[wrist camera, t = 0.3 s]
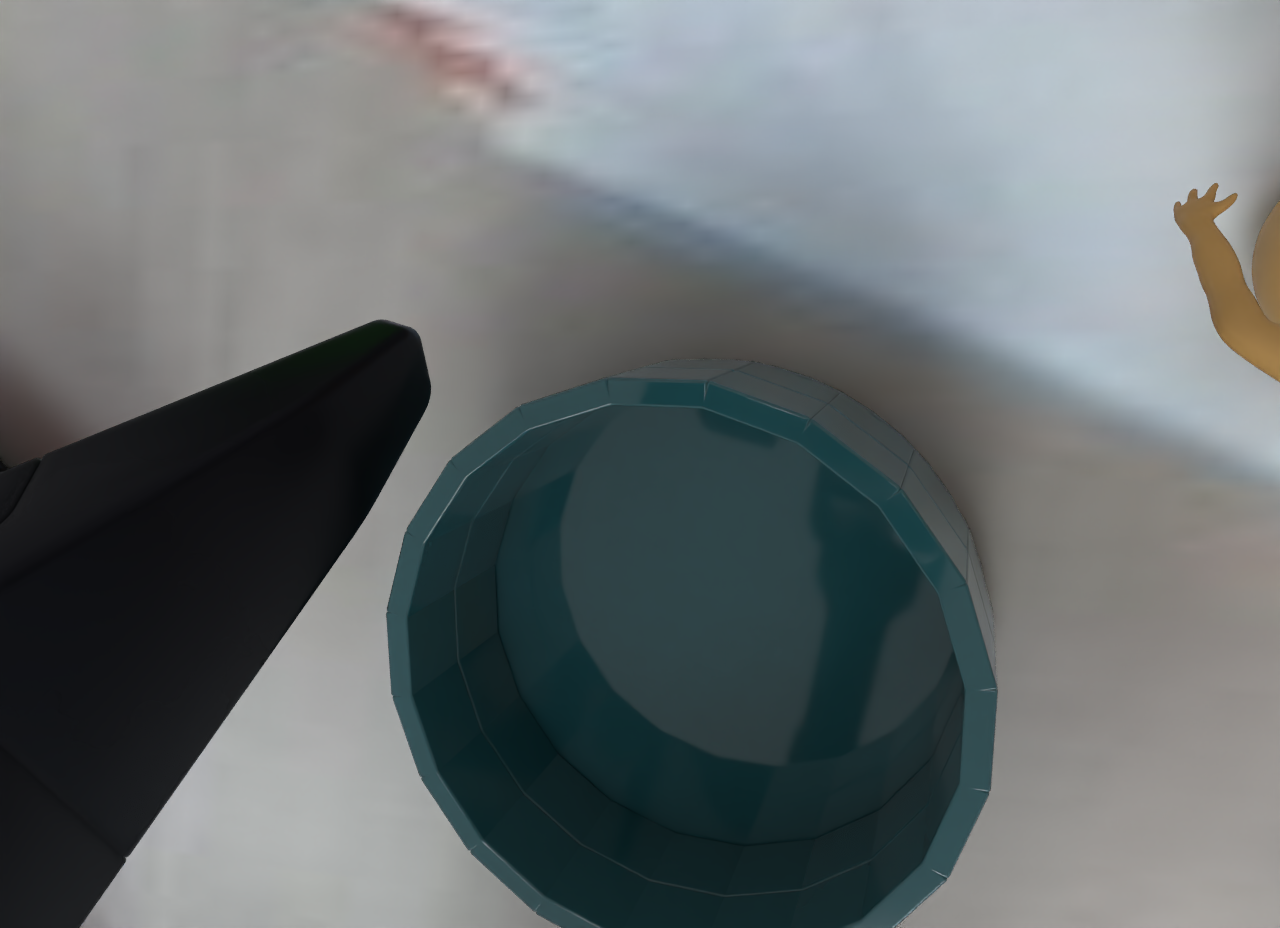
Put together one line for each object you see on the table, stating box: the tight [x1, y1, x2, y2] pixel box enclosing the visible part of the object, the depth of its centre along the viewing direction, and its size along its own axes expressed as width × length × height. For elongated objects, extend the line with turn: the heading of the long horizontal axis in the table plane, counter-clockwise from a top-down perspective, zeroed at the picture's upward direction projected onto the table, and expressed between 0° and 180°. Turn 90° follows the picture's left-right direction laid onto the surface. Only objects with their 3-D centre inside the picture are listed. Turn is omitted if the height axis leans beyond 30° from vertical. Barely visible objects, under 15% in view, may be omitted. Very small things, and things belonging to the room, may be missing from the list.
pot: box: [386, 358, 998, 928], centre depth 23 cm, size 14×14×5 cm
